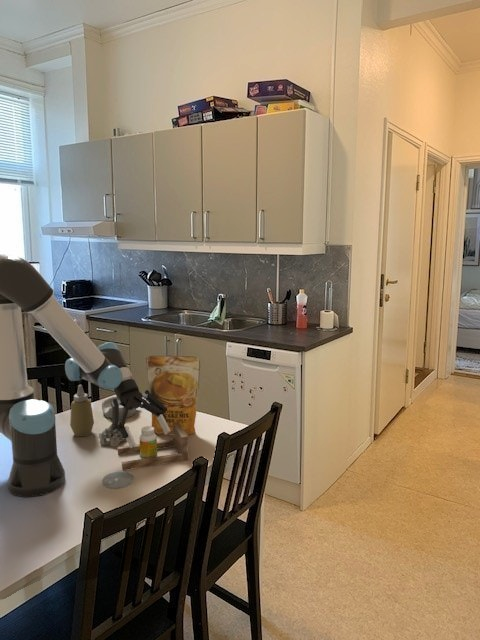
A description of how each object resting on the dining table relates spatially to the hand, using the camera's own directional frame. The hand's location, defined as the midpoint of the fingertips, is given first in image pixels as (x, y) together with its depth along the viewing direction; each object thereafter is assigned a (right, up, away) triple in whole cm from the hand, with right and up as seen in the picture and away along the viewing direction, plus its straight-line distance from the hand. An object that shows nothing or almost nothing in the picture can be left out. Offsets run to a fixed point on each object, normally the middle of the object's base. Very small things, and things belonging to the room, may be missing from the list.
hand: (151, 439), depth 158 cm
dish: (-19, +1, +38) cm, 43 cm away
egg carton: (-15, -4, +14) cm, 21 cm away
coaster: (-7, -8, -14) cm, 18 cm away
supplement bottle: (-1, -6, +1) cm, 6 cm away
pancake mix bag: (+4, -2, +20) cm, 21 cm away
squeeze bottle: (-28, -2, +18) cm, 33 cm away
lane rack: (0, -6, +1) cm, 6 cm away
